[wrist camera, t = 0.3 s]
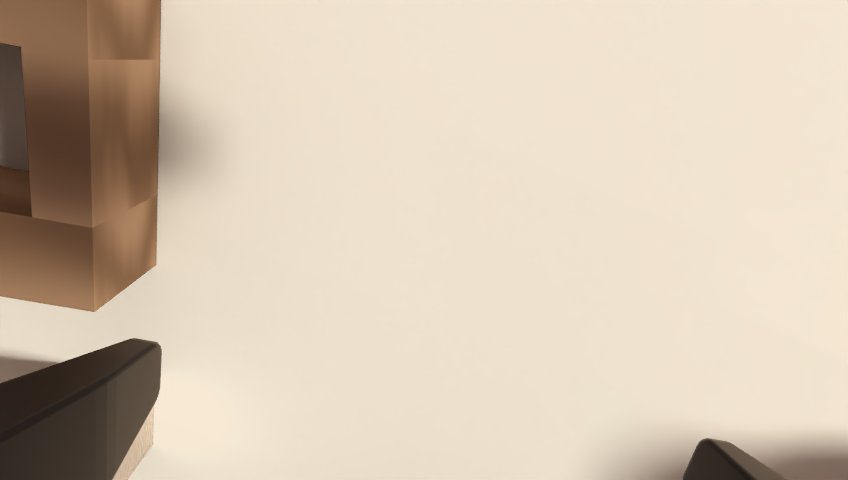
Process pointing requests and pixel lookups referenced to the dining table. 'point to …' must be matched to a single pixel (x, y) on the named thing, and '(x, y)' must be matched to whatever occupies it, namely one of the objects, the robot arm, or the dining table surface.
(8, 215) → the well board
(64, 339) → the dining table surface
